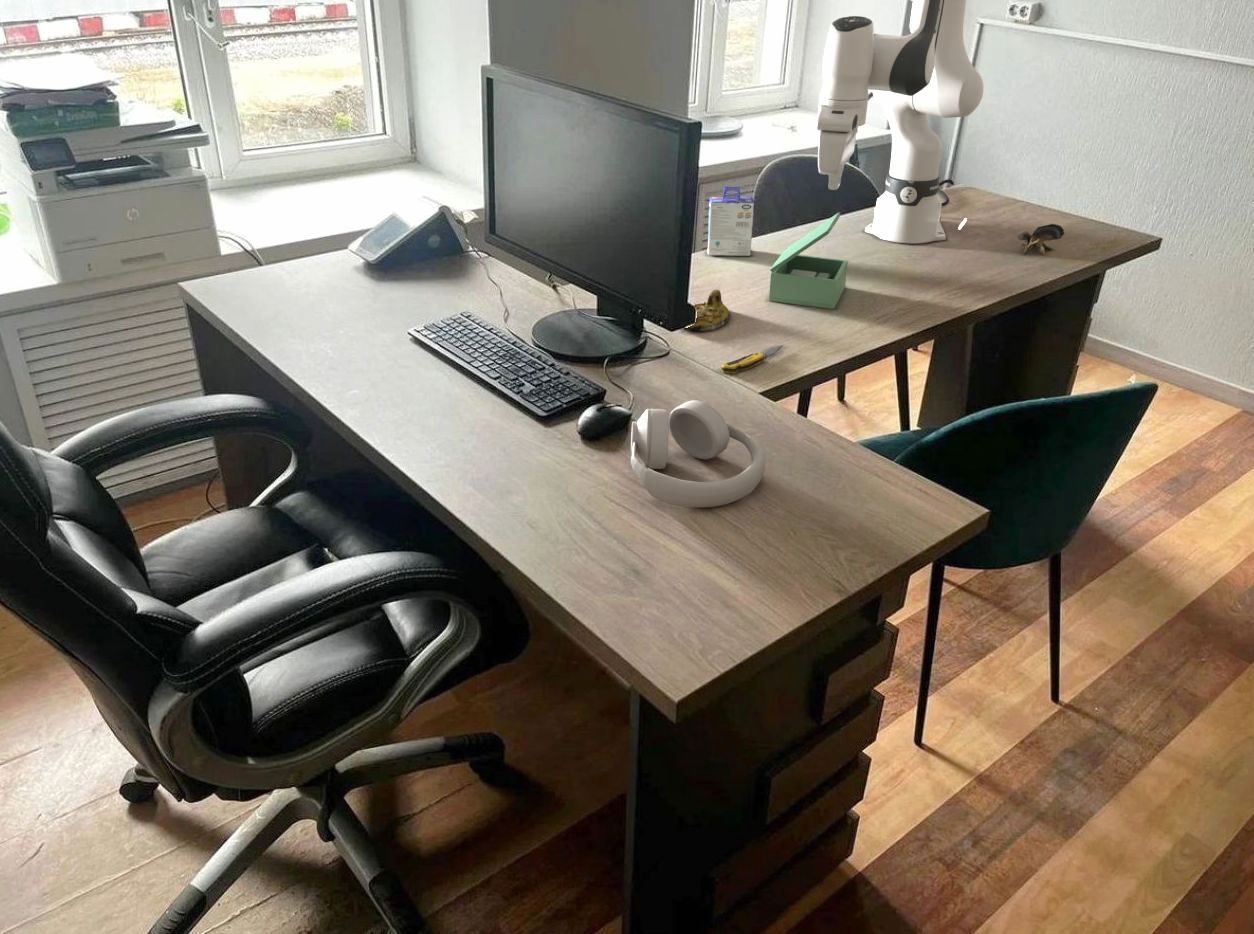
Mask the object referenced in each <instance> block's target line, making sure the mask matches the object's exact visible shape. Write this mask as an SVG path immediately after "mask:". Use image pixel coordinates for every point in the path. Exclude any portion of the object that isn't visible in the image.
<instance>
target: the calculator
mask: <svg viewBox="0 0 1254 934" xmlns="http://www.w3.org/2000/svg"><path fill="white" fill-rule="evenodd" d="M788 274H792V275H801V276H809V277H817V278H826V279H832V274H829V273H820V272H812V271H803V270H795V269H791V270H790V271H789V273H788Z"/></svg>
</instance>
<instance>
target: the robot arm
mask: <svg viewBox="0 0 1254 934" xmlns="http://www.w3.org/2000/svg"><path fill="white" fill-rule="evenodd" d="M910 1H911V2H912V4H911V12H910V20H909V31H910V34H909V33H908V34H906V35H894V34H893V35H892V34H890V35H889V34H879V33H875V29H874V28H875V27H874V22H873V20H872V19H870V18H868V17H866V16H861V15H857V16H856V15H849V16H844V17H840V18H838V19H836V20H834V21H833V22H831V23H830V26H829V30H828V34H827V37H826V43H825V47H824V53H823V60H822V71H821V72H822V81H823V82H822V87H821V90H820V92H819V101H818V109H817V119H816V125H815V127H816V130H817V131H819V132H818V143H817V147H818V148H817V168H818V173H819V174H821V175H828V186H827V187H828V190H830V191H837V190H838V189H839V187H840V186H841V182H842V181H841V180H842V177H843V176H842V175H843V172H844V168H845V165H846V164H847V163H848V161H849V160H850V158H851V157H852V156H853V154H854V153H855V148H856V137H857V134H858V129H859V127H862V126H864V125H865V124H866V120H867V112H868V105H869V90H871V92H872V95H873V98H874V101H875V102H876V103H877V104H878V105H879V106H880V108H881V109H882V110H883V113H884V114H885V116H886V118H887V121H888V124H889V128H890V133H891V154H890V156H891V157H890V165H889V172H888V173H887V175H886V179H885V187H884V189H885V190H884V192H883V194H881V195H880V196H879V197H877V199H876V204H875V207H874V211H873V213H874V215H873V216H874V217H873V221H872V222H871V223H869V224H868V225H866V226H865V228H864V232H865V233H868V234H870V235H873V236H875V237H877V238H879V239H881V240H884V241H888V242H891V243H892V242H893V243H899V244H926V243H930V242H935V241H937V242H938V241H945V240H946V237H947V236H946V233H945V231H944V228H943V226H942V224H941V221H942V217H941V211H942V207H945V206H946V205H948V204H949V203H950V197H949V196H948V195H947V194H946V192H945V191H943V190H942V189H940V187H941V186H943V185H945V184H947V183H948V184H950V185H951V186H955V182H954V181H953V180H952V179H944V180H942V181H940V177H939V173H940V166H941V159H942V153H943V142H942V140H941V139H942V138H940V136H939V135H938V134H937V133H936V132H935V131H934V130H932V128H931V127H930V125H929V122H928V120H927V116H933V117H940V118H945V119H948V118H951V119H952V118H964V117H968V116H971V114H972V113H974V112H975V111H976V110H977V108H978V107H979V105H980V103H981V101H982V99H983V95H984V81H983V79H982V78H983V77H982V75H981V74H980V73H979V71H977V69H976V68H975V67H974V65H973V64H972V62H971V60H970V59H969V56H968V53H967V51H966V47H965V42H964V23H965V14H966V13H965V12H966V5H967V0H910ZM938 193H939V194H940V195H941V196H942V198H944V202H941V201H940V200H939V198H938V197H937V194H938ZM967 219H968V218H966V217H965V218H964V219H963V221H962V222H961V223H959V226H958V230H961V229H962V228H963V226H964V225H965V224H966V222H967Z"/></svg>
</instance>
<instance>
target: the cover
mask: <svg viewBox="0 0 1254 934" xmlns="http://www.w3.org/2000/svg"><path fill="white" fill-rule="evenodd" d="M841 215H842V214H841V213H840V212H837V213H836V214H834V215H833V216H831V217H830V218H828V219H827V220H825V221H824V222H822V223H821V224H820V225H818V226H817V227H815V228H814V229H812V230H811V231H809V232H808V233H807V234H805V235H804V236H802V237H801V238H799V239H798V240H796V241H795V242H794V243H792V244H790V245H789V246H788V247H786V248H785V249H784V250H783V251H782V253H781V254H780V255H779V257H778V258H777V260H775V262H774V264H773V265H772V266H771V268H770V269H769V270H770V273H771V272H774V271H775V270H776V269H778V268H779V267H781V266H782V265H784V264H785V263H787V262H788V261H790V260H791V259H793V258H794V257H795V256H797V255H801V253H803V252H804V251H806V250H807V249H809V248H810V247H812V246H813V245H815V244H816V243H818V242H819V241H821V240H822V239H823V238H826V236H828V235H829V234H830V233H831V231H832V230H833V228H834V227H835V225H836V223H837V222H838V220H839V219H840V217H841Z"/></svg>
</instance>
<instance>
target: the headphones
mask: <svg viewBox="0 0 1254 934" xmlns="http://www.w3.org/2000/svg"><path fill="white" fill-rule="evenodd" d="M669 432H670V433H669ZM669 434H671V436H672V438H673V440H674V442H675V443H676V444H677V446H679V448H681V449H682V451H684V452H686V453H687V454H688V455H690V456H691V457H694V458H696V459H701V460H710V459H714V458H715V457H717V456H718V455H720V454H722V453H723V452H724V451H725V450H726V449H727V448H728V445H729V443H730V438H731V439H733V440H735V441H738V442H739V443H741V444H742V445H744V447H746V448H745V449H747V451H748V452H749V454H750V457H751V459H750V460H751V462H750V464H749V466H748V467H747V468H746V469H744V470H743V471H742V472H741V473H738V474H736V475H733V476H732V477H729V478H726V479H722V480H717V481H716V480H715V481H696V480H695V481H693V480H685V479H679V478H677V477H673V476H670V475H667V474H663V473H661V472H658V471H655V470H654V469H656V470H663V469H665V468H666V466H667V464H668V463H667V462H668V453H669V438H670V437H669ZM630 453H631V457H630V465H631V468H632V470H633V472H634V473H635V475H636V477H638V478H639V481H640V482H641V483H642V484H643V488H644V490H646V491H647V493H648V494H649V495H650V496H651V497H653V498H654V499H656V500H657V501H659V502H662V503H665V504H667V505H672V506H678V507H682V508H686V509H695V508H696V509H698V508H714V507H720V506H725V505H728V504H732V503H734V502H737V501H739V500H740V499H742V498H745V497H746V496H748V495H750V494H751V493H752V492H753V491H754V490H755V488H756V487H757V486H758V485H759V484H760V482H761V480H762V478H763V475H764V473H765V470H766V455H765V452H764V451H763V449H762V447H761V445H760V444H758V443H757V442H756V441H755V439H754V438H753V437H752V436H751V435H750V434H749V433H746V432H745V431H744V430H741V429H739V428H738V427H735V426H733V425H731V424H729V423H727V422H726V420H725V418H724V416H723V415H722V414H721V412H719V410H717V409H715V408H714V407H713V406H711V405H710V404H709V403H707V402H704V401H702V400H698V399H697V400H695V399H691V400H688V401H685V402H683V403H682V404H680V405H678V406H676V407H675V408H674V409H673V410H672V411H671V412H670V413H668V410H667V409H666V408H665V409H663V408H646V409H645V411H644V412H643V413H642V414H641V416H640V417H639V418H638V420H637V421H634V420H633V421H632V422H631V434H630Z"/></svg>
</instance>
